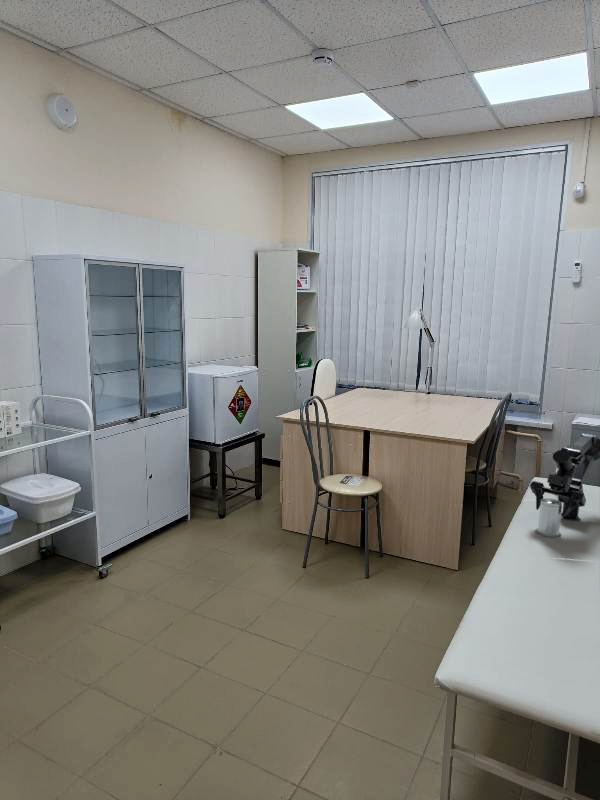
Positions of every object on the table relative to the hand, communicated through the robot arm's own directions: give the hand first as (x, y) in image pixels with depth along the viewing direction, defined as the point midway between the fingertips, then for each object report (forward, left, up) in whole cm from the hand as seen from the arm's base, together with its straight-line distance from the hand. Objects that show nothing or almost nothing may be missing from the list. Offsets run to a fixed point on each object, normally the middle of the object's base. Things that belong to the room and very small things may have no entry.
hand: (549, 512), depth 202 cm
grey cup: (-1, 0, -8) cm, 8 cm away
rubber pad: (-1, 0, -8) cm, 9 cm away
